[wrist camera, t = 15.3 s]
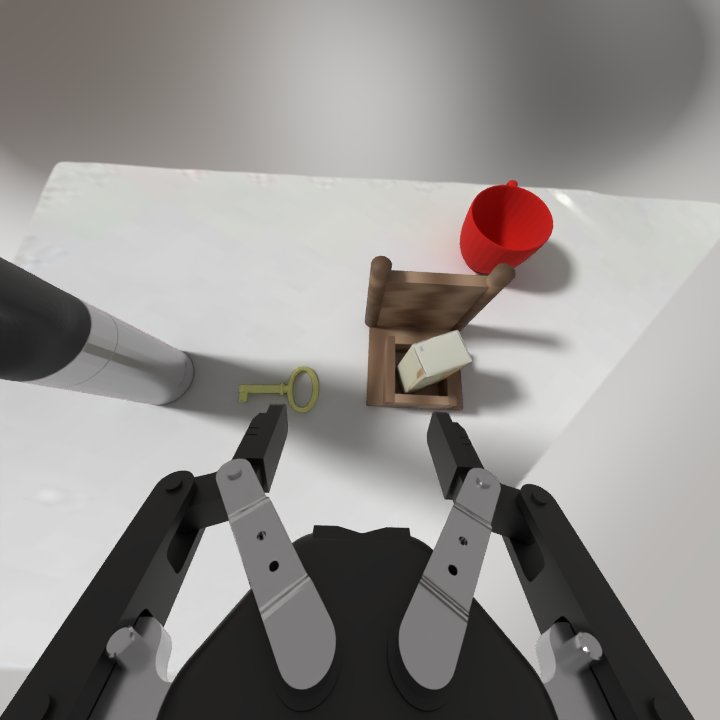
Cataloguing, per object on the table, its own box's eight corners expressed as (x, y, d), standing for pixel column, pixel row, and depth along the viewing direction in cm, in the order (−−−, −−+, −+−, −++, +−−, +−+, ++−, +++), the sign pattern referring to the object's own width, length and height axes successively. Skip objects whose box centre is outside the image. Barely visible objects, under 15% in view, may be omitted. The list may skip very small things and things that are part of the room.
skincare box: (403, 396, 41) (423, 379, 29) (393, 370, 42) (409, 344, 30) (440, 383, 41) (474, 361, 30) (429, 358, 43) (458, 328, 31)
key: (239, 388, 42) (233, 385, 40) (313, 364, 43) (311, 361, 41) (249, 432, 40) (243, 431, 38) (326, 405, 41) (324, 404, 39)
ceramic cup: (520, 225, 53) (558, 178, 43) (510, 296, 48) (550, 260, 38) (458, 209, 53) (481, 159, 44) (441, 277, 48) (464, 237, 39)
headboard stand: (360, 405, 41) (366, 385, 26) (364, 316, 46) (371, 255, 30) (466, 410, 41) (533, 393, 26) (459, 322, 46) (513, 263, 31)
